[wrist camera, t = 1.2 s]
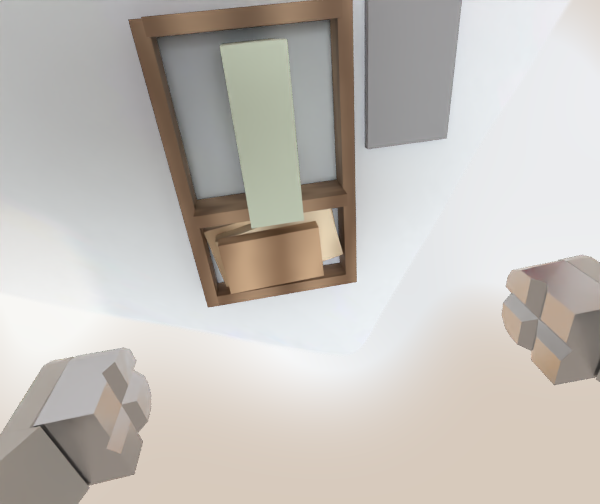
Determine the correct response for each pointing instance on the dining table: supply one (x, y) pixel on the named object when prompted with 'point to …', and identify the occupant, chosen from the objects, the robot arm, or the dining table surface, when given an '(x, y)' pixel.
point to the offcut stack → (273, 251)
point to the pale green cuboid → (264, 128)
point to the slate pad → (409, 69)
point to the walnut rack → (233, 208)
